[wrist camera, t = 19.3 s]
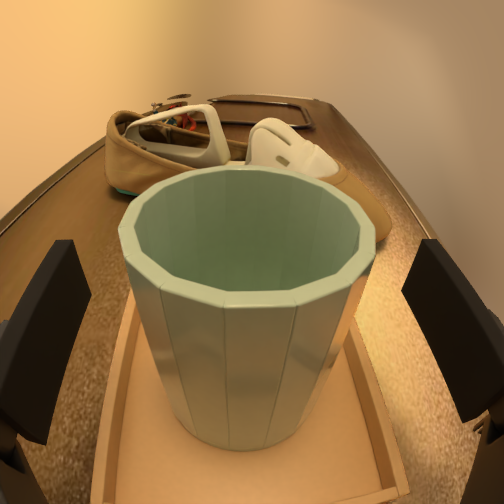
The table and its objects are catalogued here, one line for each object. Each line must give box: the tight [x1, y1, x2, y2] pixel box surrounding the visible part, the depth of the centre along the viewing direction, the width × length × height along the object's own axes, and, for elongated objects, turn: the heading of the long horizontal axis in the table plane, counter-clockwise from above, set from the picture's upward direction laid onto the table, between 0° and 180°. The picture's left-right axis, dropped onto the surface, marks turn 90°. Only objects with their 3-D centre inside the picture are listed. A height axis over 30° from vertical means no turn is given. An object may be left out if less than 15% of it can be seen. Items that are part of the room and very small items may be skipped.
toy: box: [151, 102, 196, 131], centre depth 45 cm, size 7×7×15 cm
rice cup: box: [118, 165, 376, 451], centre depth 12 cm, size 8×8×10 cm
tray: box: [90, 287, 410, 504], centre depth 15 cm, size 13×15×2 cm
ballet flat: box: [104, 104, 392, 243], centre depth 28 cm, size 11×31×10 cm, turn 71°
